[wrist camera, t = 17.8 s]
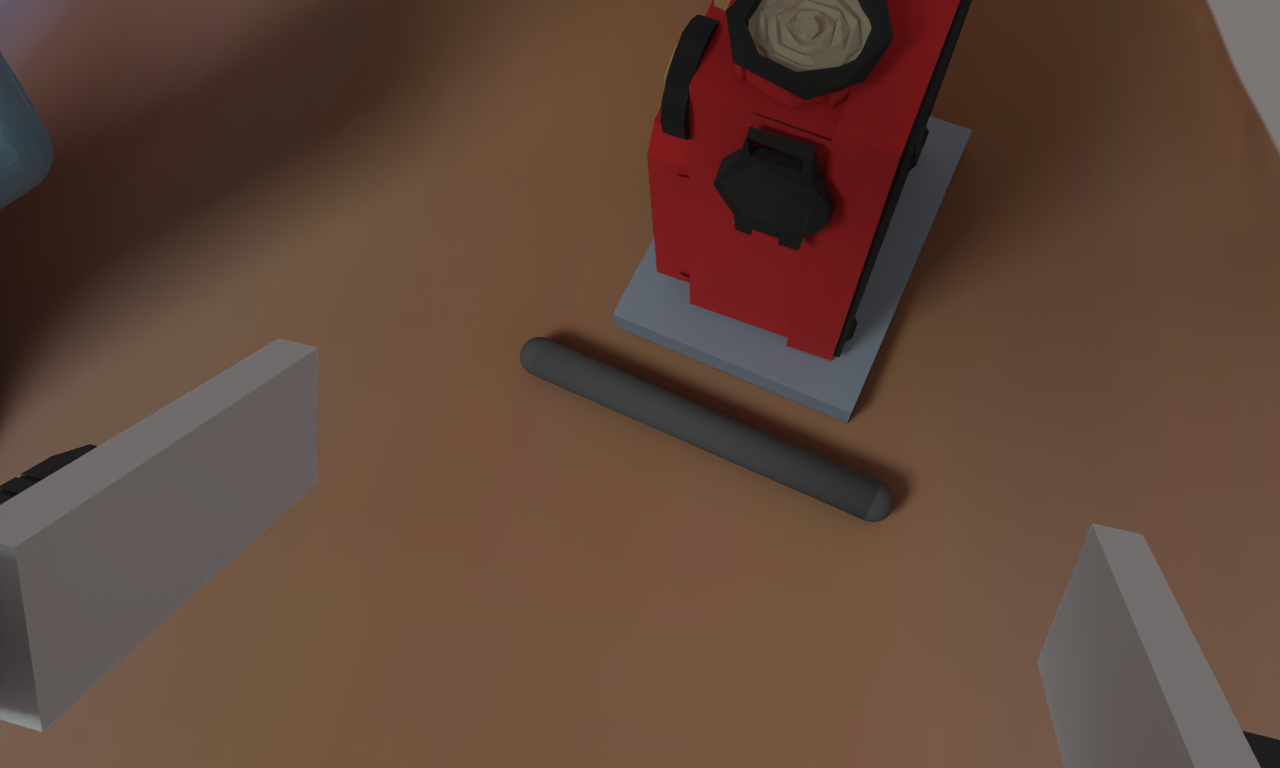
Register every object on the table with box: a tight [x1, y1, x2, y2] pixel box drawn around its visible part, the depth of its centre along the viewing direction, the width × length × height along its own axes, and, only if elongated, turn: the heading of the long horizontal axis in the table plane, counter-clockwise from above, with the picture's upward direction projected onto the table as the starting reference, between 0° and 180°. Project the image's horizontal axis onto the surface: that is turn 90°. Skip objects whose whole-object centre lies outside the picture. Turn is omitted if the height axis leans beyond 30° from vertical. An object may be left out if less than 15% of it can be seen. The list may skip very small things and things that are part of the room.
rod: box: [520, 337, 894, 522], centre depth 47 cm, size 20×2×2 cm, turn 64°
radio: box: [647, 0, 972, 361], centre depth 41 cm, size 16×10×20 cm, turn 157°
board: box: [613, 116, 972, 423], centre depth 51 cm, size 13×18×2 cm
